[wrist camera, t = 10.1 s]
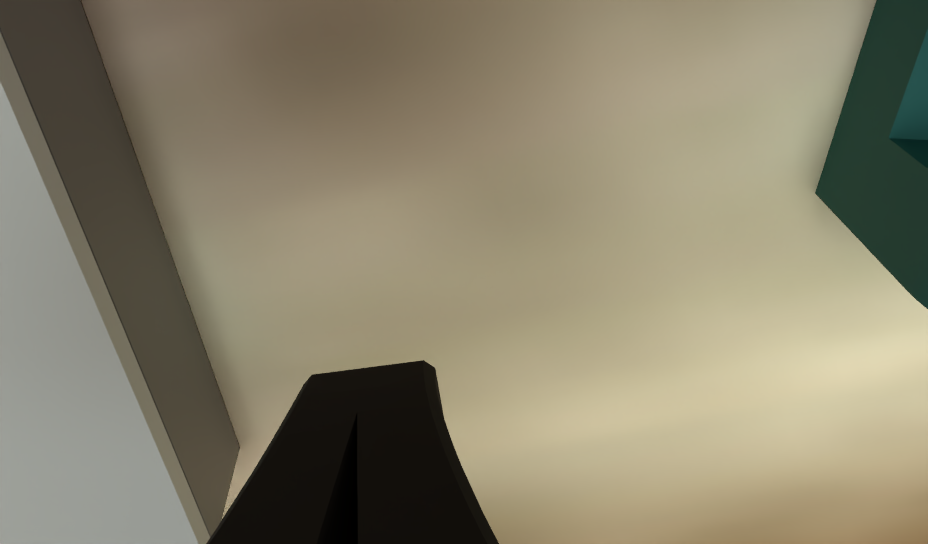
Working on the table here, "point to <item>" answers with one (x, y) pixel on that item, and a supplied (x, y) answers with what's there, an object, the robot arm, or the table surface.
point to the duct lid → (70, 373)
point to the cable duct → (123, 235)
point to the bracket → (886, 145)
